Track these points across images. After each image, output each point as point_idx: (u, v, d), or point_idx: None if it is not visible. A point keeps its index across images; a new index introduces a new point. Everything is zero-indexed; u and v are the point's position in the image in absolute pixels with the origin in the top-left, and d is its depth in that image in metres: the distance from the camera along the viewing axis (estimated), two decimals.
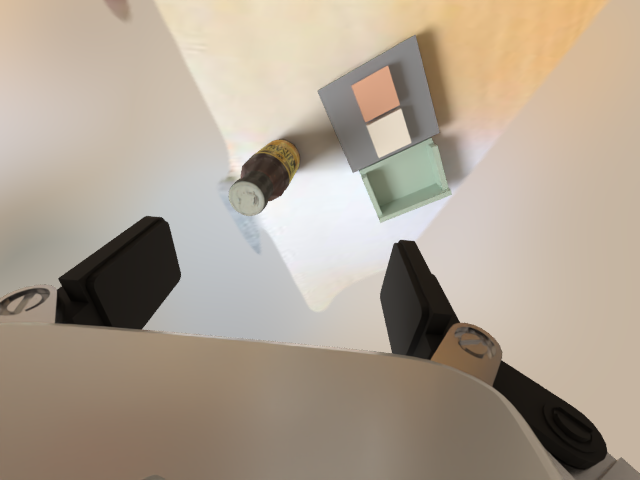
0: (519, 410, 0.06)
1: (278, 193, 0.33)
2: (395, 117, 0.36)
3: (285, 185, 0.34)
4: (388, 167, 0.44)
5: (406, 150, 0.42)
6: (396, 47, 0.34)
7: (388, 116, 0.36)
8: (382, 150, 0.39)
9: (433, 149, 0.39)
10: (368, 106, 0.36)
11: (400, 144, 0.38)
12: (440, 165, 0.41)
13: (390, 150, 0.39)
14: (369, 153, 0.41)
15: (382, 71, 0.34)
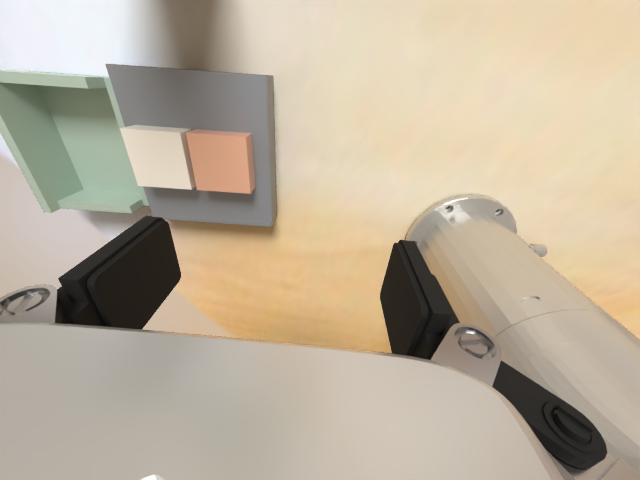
0: (519, 410, 0.06)
1: None
2: (181, 178, 0.24)
3: None
4: (118, 130, 0.26)
5: None
6: (269, 205, 0.27)
7: (185, 169, 0.23)
8: (132, 139, 0.22)
9: (126, 207, 0.27)
10: (208, 148, 0.22)
11: (138, 170, 0.24)
12: (100, 208, 0.27)
13: (130, 152, 0.23)
14: (139, 112, 0.23)
15: (247, 184, 0.24)
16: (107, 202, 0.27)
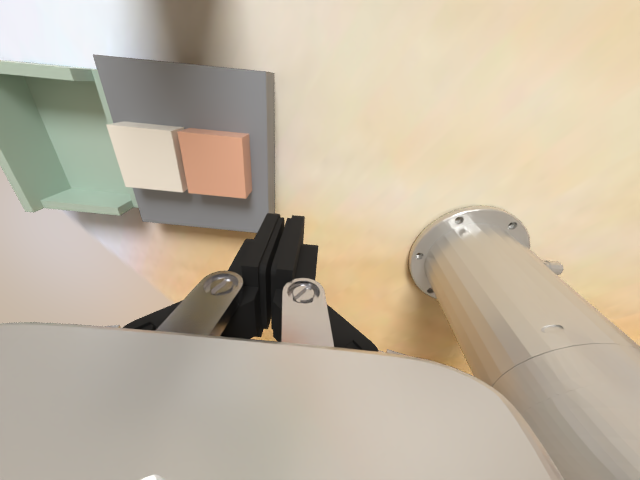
0: None
1: None
2: (172, 180, 0.22)
3: None
4: None
5: None
6: (266, 211, 0.25)
7: (176, 170, 0.22)
8: (120, 137, 0.20)
9: (114, 208, 0.25)
10: (201, 148, 0.21)
11: (126, 170, 0.22)
12: (85, 209, 0.25)
13: (117, 150, 0.21)
14: (129, 108, 0.21)
15: (242, 189, 0.22)
16: (94, 203, 0.25)
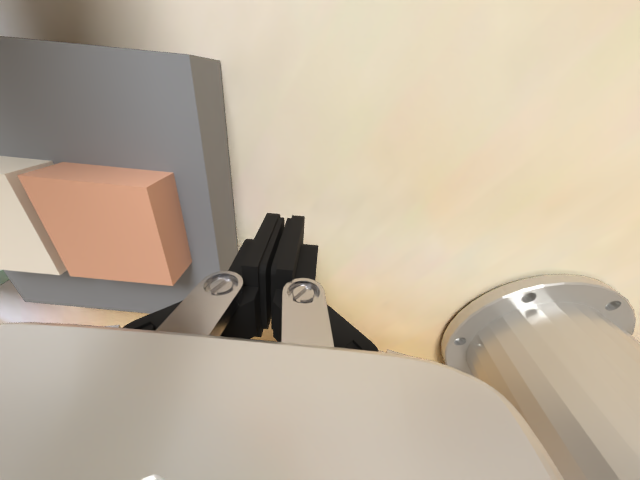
0: None
1: None
2: (34, 256, 0.12)
3: None
4: None
5: None
6: None
7: (38, 242, 0.12)
8: None
9: None
10: (72, 205, 0.11)
11: None
12: None
13: None
14: None
15: (164, 271, 0.12)
16: None
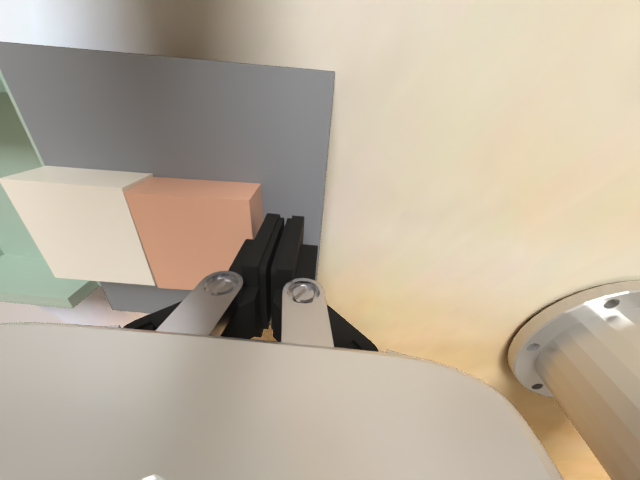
0: None
1: None
2: (134, 267, 0.12)
3: None
4: None
5: None
6: None
7: (140, 253, 0.12)
8: (29, 200, 0.11)
9: (62, 299, 0.15)
10: (173, 219, 0.11)
11: (51, 252, 0.12)
12: (16, 299, 0.15)
13: (29, 222, 0.11)
14: (70, 141, 0.11)
15: None
16: (31, 288, 0.16)
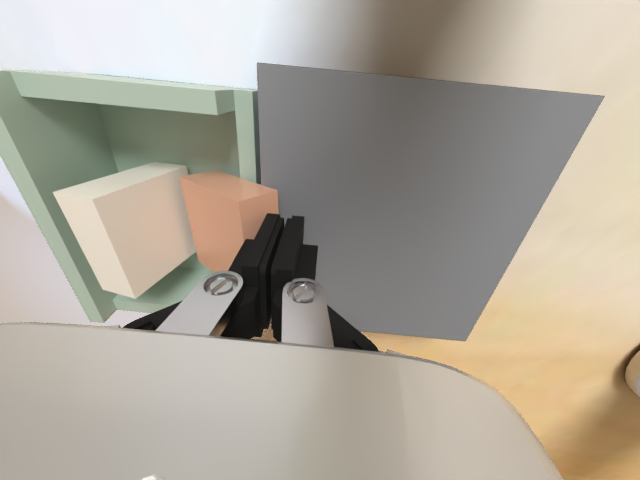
0: None
1: None
2: None
3: None
4: None
5: None
6: (477, 313, 0.16)
7: None
8: None
9: None
10: (200, 206, 0.12)
11: None
12: None
13: None
14: (298, 160, 0.11)
15: None
16: None
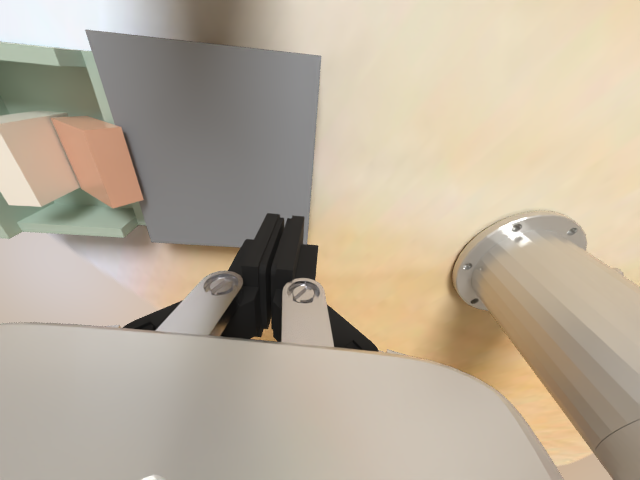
0: None
1: None
2: None
3: None
4: None
5: None
6: (305, 225, 0.21)
7: None
8: None
9: (116, 230, 0.20)
10: (68, 139, 0.17)
11: None
12: (79, 231, 0.20)
13: None
14: (136, 103, 0.16)
15: (106, 196, 0.17)
16: (89, 223, 0.20)
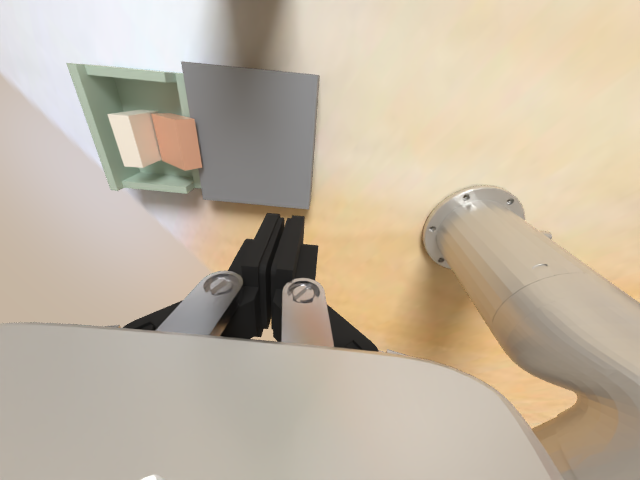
0: None
1: None
2: None
3: None
4: None
5: None
6: (308, 189, 0.31)
7: None
8: None
9: (183, 188, 0.30)
10: (161, 126, 0.28)
11: None
12: (159, 188, 0.30)
13: None
14: (204, 104, 0.26)
15: (182, 162, 0.28)
16: (165, 183, 0.31)
